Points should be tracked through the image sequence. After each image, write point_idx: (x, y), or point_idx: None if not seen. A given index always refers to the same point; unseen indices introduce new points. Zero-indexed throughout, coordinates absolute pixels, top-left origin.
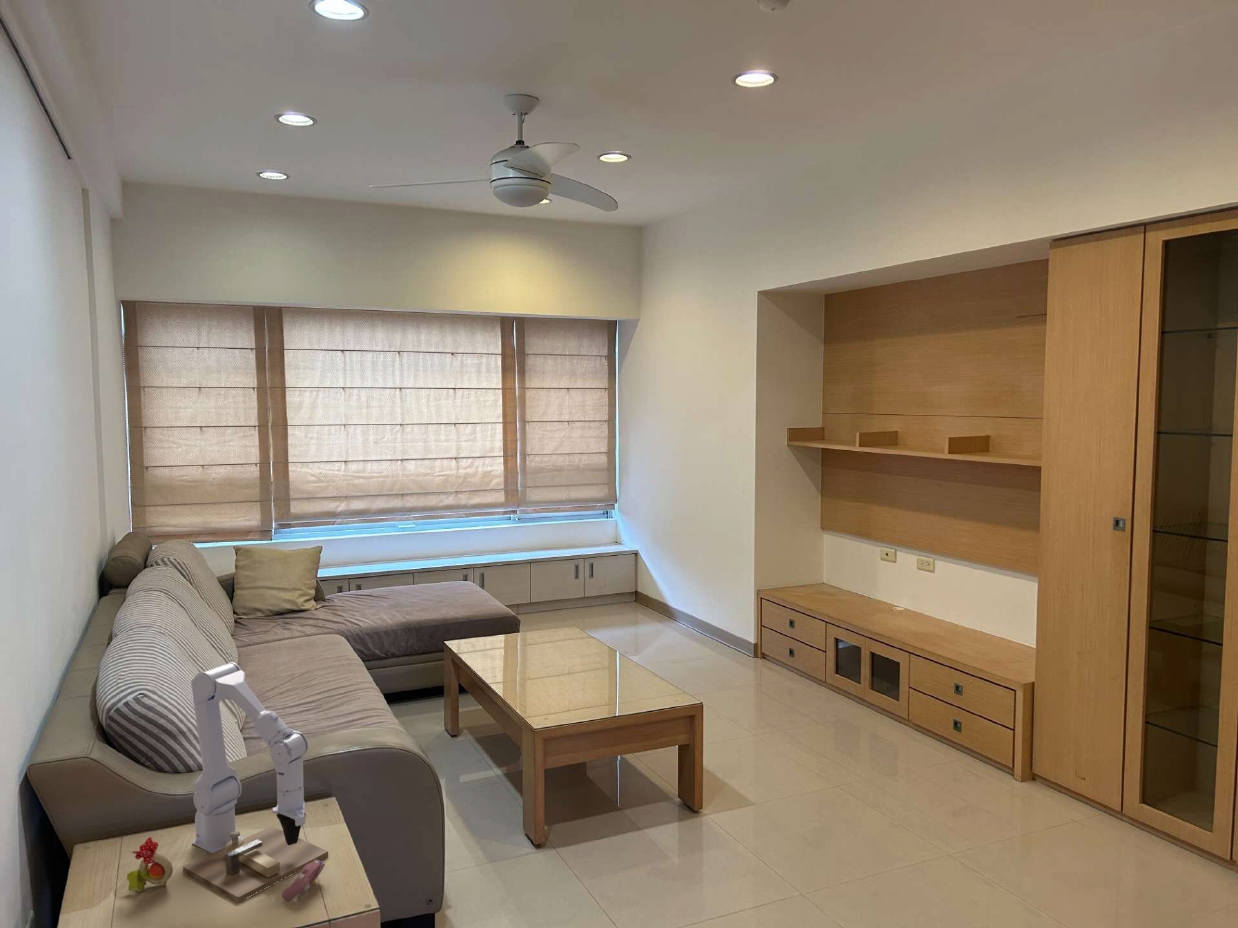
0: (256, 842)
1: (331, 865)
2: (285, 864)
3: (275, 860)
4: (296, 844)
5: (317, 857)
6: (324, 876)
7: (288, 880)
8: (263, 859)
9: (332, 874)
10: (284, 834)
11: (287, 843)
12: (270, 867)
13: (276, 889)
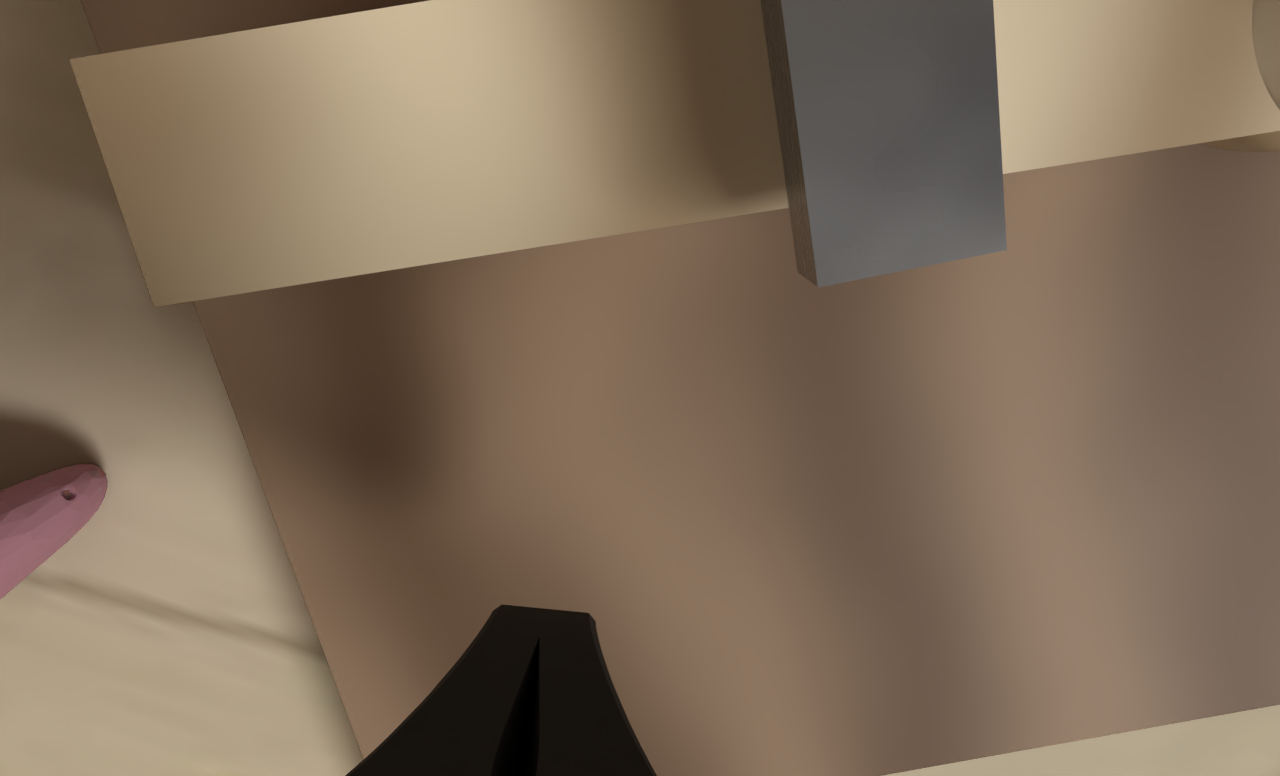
0: (877, 180)
1: (203, 765)
2: (434, 416)
3: (261, 277)
4: (818, 691)
5: (361, 737)
6: (10, 635)
7: (161, 316)
8: (439, 135)
9: (5, 705)
10: (572, 694)
11: (504, 612)
12: (108, 124)
13: (21, 111)
